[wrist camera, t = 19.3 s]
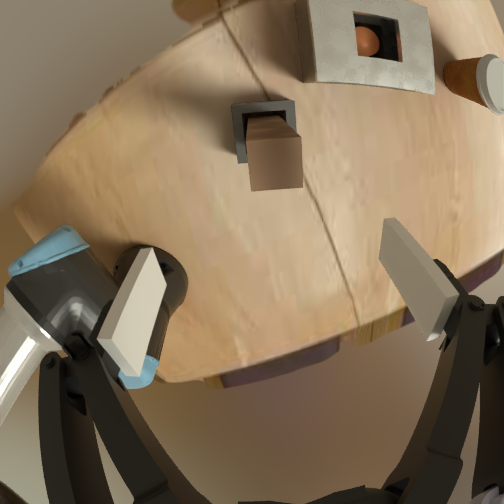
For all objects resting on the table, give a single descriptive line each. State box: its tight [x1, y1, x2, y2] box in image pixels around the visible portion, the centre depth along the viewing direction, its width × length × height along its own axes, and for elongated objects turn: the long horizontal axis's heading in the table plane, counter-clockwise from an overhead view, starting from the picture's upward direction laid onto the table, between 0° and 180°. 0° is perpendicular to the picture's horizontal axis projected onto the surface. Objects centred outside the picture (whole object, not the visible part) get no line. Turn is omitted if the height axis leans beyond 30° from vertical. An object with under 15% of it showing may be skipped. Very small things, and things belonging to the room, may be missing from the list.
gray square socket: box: [231, 100, 297, 164], centre depth 34 cm, size 8×8×4 cm
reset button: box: [355, 27, 379, 56], centre depth 26 cm, size 4×4×4 cm
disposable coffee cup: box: [443, 54, 504, 115], centre depth 23 cm, size 10×10×12 cm
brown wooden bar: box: [246, 114, 303, 191], centre depth 28 cm, size 4×4×20 cm
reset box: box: [294, 0, 435, 95], centre depth 24 cm, size 16×13×9 cm
